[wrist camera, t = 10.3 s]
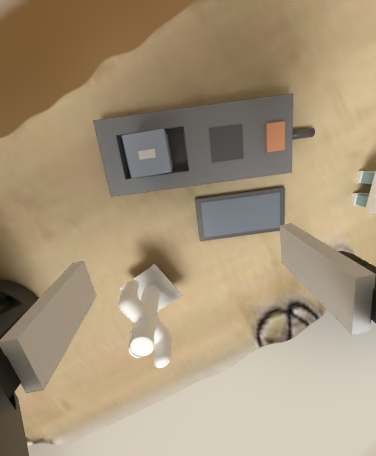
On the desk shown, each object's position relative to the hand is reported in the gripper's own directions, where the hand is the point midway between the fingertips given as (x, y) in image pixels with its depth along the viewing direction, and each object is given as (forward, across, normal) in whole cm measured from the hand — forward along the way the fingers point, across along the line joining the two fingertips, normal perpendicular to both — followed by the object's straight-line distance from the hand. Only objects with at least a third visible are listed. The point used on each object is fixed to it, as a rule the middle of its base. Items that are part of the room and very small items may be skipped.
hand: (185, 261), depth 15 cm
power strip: (+22, +6, +7) cm, 24 cm away
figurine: (+22, -7, -14) cm, 27 cm away
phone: (+22, +9, -4) cm, 24 cm away
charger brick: (+21, -2, +7) cm, 23 cm away
